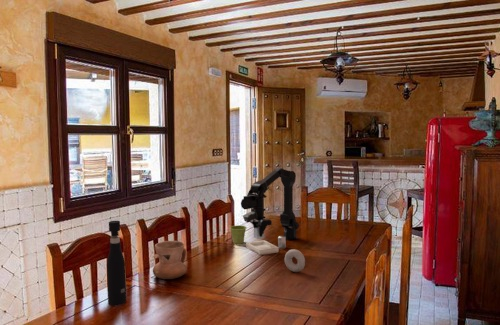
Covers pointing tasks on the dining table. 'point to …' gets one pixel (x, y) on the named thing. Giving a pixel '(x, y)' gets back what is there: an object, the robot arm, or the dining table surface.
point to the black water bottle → (116, 268)
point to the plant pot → (238, 234)
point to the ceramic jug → (170, 260)
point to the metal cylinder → (281, 242)
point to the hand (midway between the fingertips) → (258, 235)
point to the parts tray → (262, 247)
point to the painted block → (257, 233)
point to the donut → (300, 260)
